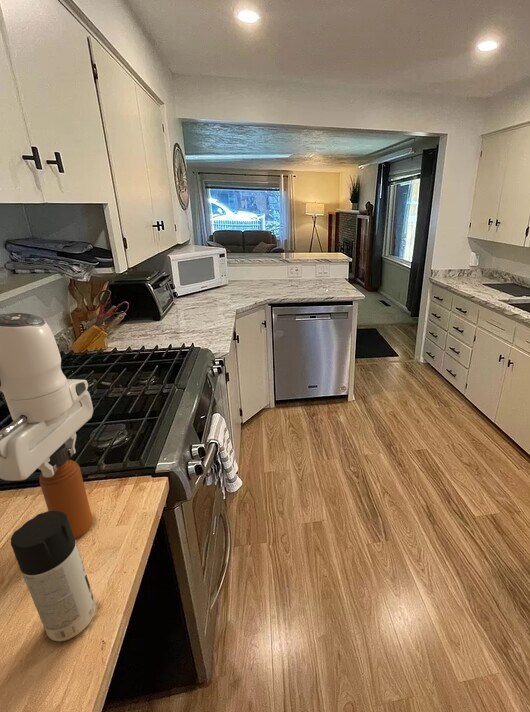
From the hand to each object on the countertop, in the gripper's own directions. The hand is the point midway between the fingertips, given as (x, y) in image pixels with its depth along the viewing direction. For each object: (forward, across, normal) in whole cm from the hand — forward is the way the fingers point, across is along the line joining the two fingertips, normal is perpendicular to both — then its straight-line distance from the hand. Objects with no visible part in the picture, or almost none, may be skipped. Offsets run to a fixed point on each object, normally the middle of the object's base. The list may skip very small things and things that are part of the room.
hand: (60, 464), depth 69 cm
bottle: (+16, 0, +1) cm, 16 cm away
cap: (-1, 0, 0) cm, 1 cm away
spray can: (+16, -18, -10) cm, 26 cm away
